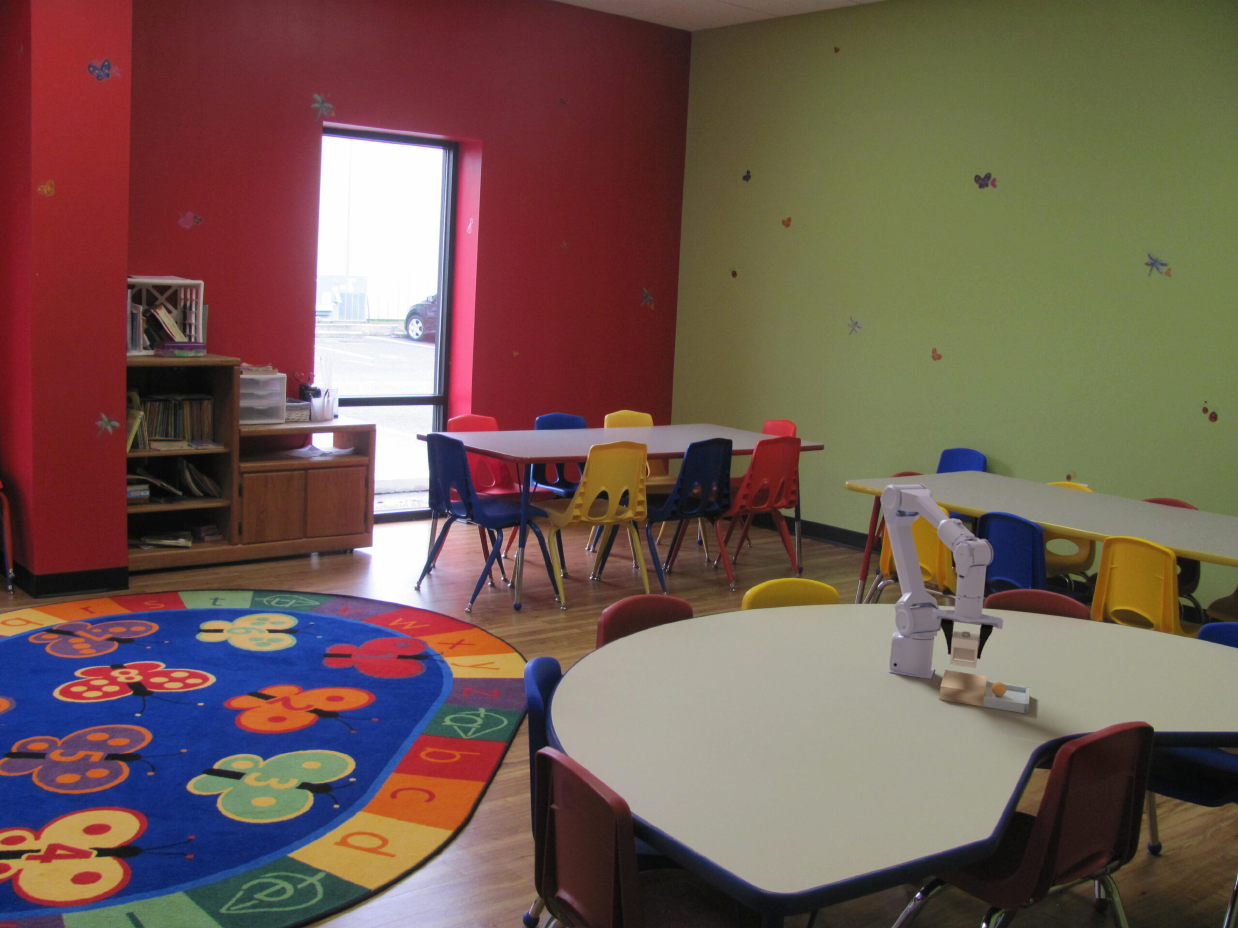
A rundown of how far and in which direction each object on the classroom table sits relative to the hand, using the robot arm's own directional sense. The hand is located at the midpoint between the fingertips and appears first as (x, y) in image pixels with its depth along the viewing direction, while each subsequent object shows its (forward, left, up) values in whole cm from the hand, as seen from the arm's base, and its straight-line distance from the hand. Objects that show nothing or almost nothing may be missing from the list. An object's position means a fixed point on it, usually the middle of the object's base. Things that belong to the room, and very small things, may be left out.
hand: (964, 655), depth 237 cm
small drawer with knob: (0, 0, -2) cm, 2 cm away
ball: (+8, 0, -6) cm, 10 cm away
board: (0, 0, -9) cm, 9 cm away
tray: (+9, 0, -9) cm, 13 cm away
